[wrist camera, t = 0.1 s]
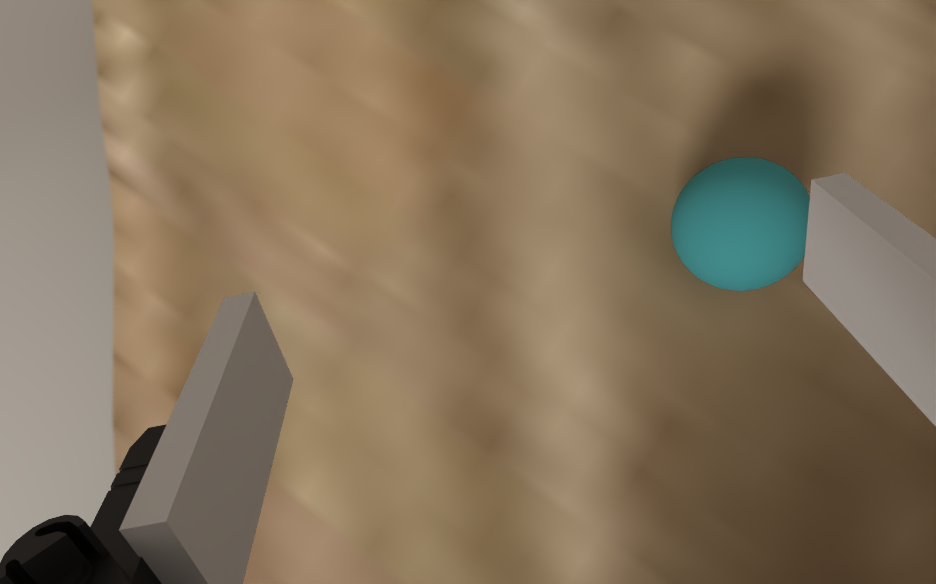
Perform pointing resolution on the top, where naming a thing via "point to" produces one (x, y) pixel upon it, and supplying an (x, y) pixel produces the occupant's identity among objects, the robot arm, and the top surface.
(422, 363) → the top surface
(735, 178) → the ball
